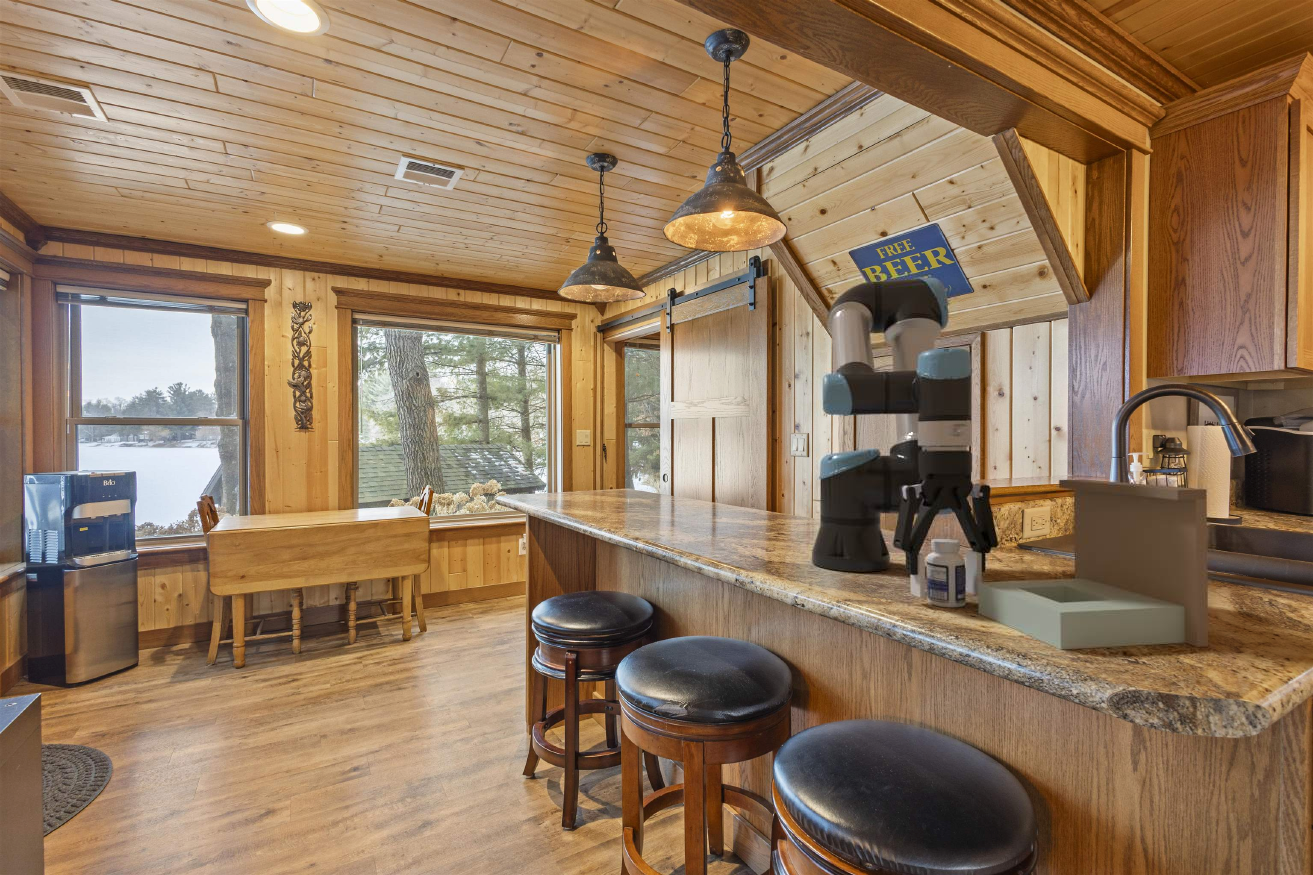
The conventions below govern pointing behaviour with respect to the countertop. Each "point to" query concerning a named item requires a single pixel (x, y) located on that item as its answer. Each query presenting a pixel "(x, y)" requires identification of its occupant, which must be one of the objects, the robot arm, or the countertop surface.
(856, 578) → the countertop surface
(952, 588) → the pill bottle
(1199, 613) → the socket stand
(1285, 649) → the countertop surface
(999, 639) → the countertop surface
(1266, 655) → the countertop surface
